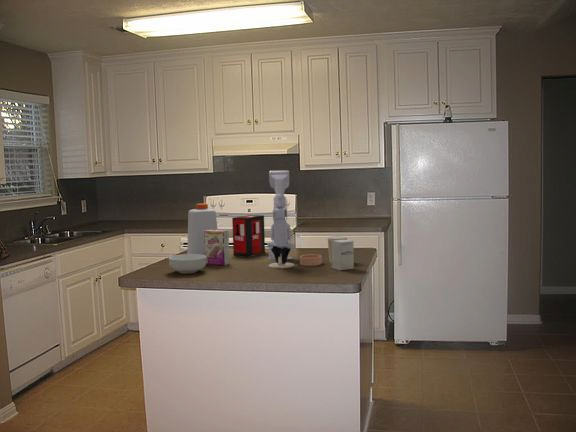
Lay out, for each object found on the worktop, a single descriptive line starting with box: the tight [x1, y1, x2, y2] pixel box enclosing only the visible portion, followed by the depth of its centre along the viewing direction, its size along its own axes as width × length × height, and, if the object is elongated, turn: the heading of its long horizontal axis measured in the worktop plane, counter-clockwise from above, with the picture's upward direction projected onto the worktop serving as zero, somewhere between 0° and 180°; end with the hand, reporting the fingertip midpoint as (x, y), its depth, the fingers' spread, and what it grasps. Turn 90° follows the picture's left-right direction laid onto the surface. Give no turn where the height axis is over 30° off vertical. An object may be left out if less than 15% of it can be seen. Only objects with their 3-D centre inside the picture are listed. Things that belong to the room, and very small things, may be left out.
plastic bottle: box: [186, 203, 219, 255], centre depth 292 cm, size 15×15×28 cm
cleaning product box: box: [231, 214, 266, 258], centre depth 303 cm, size 16×9×20 cm, turn 150°
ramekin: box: [299, 253, 322, 267], centre depth 269 cm, size 10×10×4 cm
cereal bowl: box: [168, 253, 207, 275], centre depth 258 cm, size 17×17×7 cm
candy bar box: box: [204, 229, 230, 266], centre depth 275 cm, size 11×5×16 cm, turn 65°
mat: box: [263, 263, 299, 270], centre depth 265 cm, size 12×12×1 cm
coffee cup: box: [326, 235, 348, 264], centre depth 272 cm, size 9×9×12 cm
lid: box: [268, 256, 295, 269], centre depth 265 cm, size 12×12×4 cm
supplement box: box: [331, 239, 355, 271], centre depth 257 cm, size 7×7×13 cm
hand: (281, 263), depth 265 cm, fingers closed on lid, 3 cm apart
